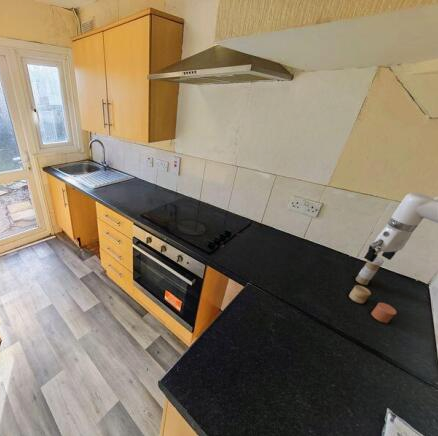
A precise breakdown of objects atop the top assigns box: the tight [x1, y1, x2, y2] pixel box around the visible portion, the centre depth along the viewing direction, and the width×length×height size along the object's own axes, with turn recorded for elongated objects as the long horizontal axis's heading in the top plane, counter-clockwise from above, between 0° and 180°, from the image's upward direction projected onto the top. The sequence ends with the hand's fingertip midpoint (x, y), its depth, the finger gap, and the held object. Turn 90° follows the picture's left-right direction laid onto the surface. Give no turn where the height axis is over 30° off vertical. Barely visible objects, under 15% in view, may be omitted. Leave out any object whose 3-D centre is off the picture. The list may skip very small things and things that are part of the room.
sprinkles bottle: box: [355, 256, 385, 286], centre depth 100 cm, size 5×5×14 cm
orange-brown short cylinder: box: [370, 302, 397, 324], centre depth 85 cm, size 5×5×5 cm
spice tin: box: [348, 284, 372, 304], centre depth 93 cm, size 5×5×5 cm
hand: (377, 258), depth 96 cm, fingers open, 9 cm apart
